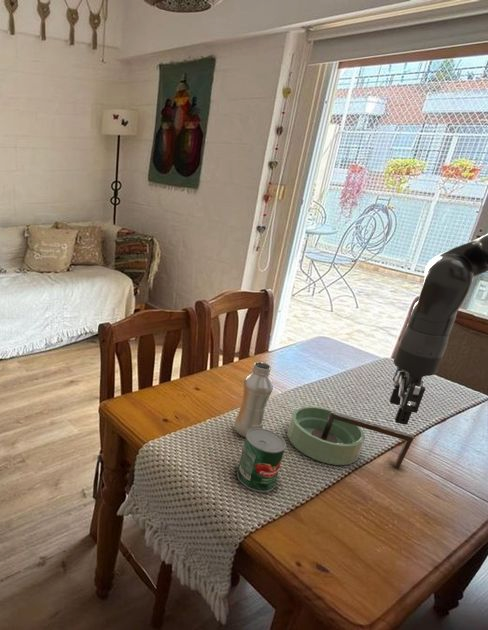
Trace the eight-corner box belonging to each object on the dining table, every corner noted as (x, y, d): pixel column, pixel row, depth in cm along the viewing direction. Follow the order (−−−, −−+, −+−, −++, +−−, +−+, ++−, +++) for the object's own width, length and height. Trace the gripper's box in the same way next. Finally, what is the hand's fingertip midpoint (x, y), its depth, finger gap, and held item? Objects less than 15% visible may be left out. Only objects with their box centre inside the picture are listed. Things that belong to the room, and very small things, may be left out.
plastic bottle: (239, 422, 117) (254, 356, 109) (265, 434, 112) (282, 366, 104) (228, 432, 112) (242, 364, 105) (254, 445, 108) (271, 375, 100)
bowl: (355, 437, 112) (362, 417, 110) (359, 475, 100) (367, 454, 97) (288, 418, 119) (293, 399, 117) (285, 452, 106) (290, 432, 104)
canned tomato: (247, 461, 103) (256, 423, 98) (280, 480, 98) (292, 440, 93) (230, 478, 98) (239, 438, 93) (265, 498, 92) (276, 457, 88)
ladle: (309, 445, 108) (320, 414, 104) (309, 432, 112) (320, 403, 109) (400, 475, 100) (415, 443, 96) (396, 460, 105) (411, 429, 101)
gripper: (451, 367, 85) (424, 435, 91) (435, 339, 97) (412, 401, 103) (404, 358, 88) (381, 424, 94) (394, 332, 100) (374, 393, 106)
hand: (397, 412), depth 99 cm, fingers open, 8 cm apart
